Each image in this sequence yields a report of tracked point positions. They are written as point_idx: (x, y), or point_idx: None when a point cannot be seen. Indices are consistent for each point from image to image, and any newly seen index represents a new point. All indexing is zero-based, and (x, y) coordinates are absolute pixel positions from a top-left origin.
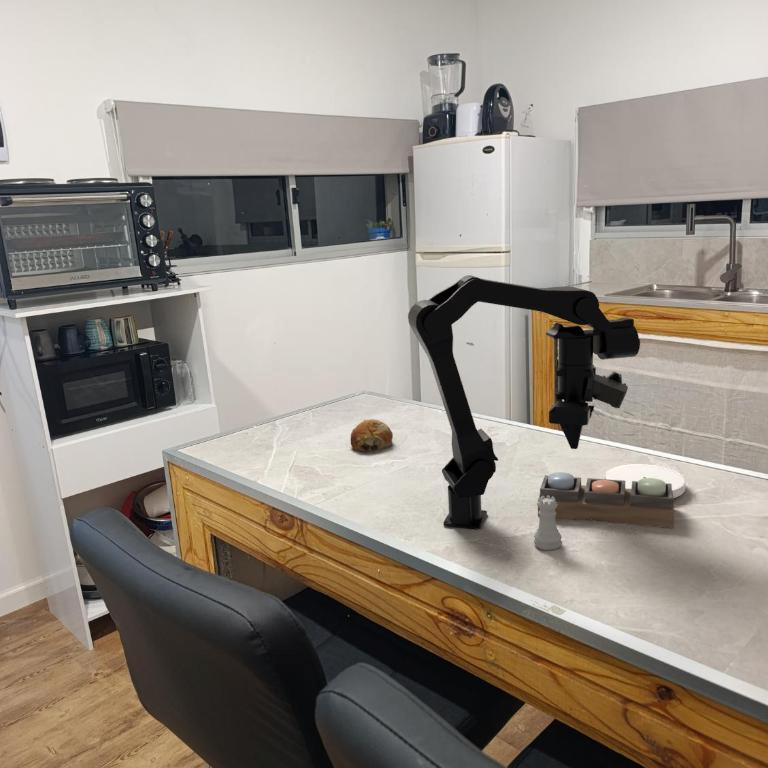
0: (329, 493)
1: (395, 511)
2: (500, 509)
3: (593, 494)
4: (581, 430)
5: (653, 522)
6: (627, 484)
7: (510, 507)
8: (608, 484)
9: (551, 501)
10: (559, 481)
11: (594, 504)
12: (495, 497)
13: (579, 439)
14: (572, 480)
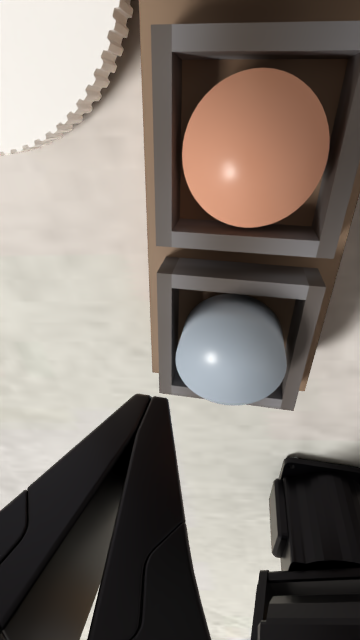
0: (213, 619)
1: (278, 568)
2: (255, 431)
3: (344, 214)
4: (83, 501)
5: None
6: (44, 33)
7: (240, 412)
8: (247, 137)
9: None
10: (282, 371)
11: (352, 199)
12: (184, 439)
13: (128, 436)
14: (255, 320)
